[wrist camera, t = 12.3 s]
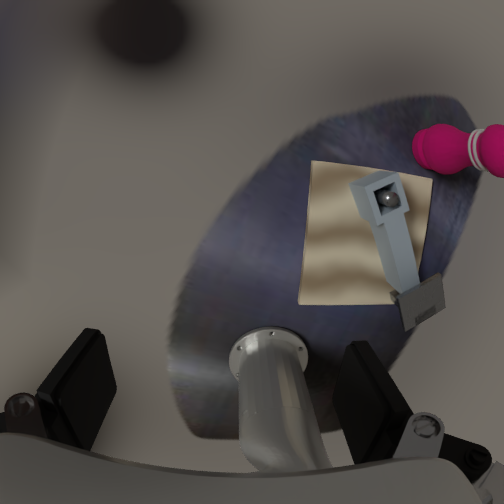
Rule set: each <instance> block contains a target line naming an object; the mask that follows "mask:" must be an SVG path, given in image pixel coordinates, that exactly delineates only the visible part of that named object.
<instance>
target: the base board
mask: <svg viewBox="0 0 504 504" xmlns="http://www.w3.org/2000/svg"><path fill="white" fill-rule="evenodd" d="M379 170H380V171H387V170H381V169H374V168H368V167H361V166H354V165H346V164H338V163H330V162H321V161H311V173H310V187H309V199H308V211H307V222H306V233H305V243H304V252H303V262H302V271H301V279H300V288H299V296H298V303H299V305H372V304H394V303H393V302H392V301H391V298H390V294H389V292H391V291H393V290H395V289H394V288H393V287H392V286H391V285H390V284H389V283H388V282H387V281H386V277H385V274H384V270H383V266H382V263H381V259H380V256H379V252H378V249H377V246H376V242H375V239H374V236H373V233H372V229H371V226H370V223H369V221H367V220H365V219H363V218H361V217H360V214H359V212H358V209H357V206H356V203H355V200H354V198H353V195H352V192H351V189H350V187H349V184H348V183H350V182H353V181H355V180H357V179H360V178H362V177H364V176H367V175H369V174H371V173H374V172H376V171H379ZM391 172H393V171H391ZM398 173H399V172H398ZM399 176H400V179H401V183H402V186H403V189H404V192H405V196H406V199H407V202H408V206H409V211H407V212H405V213H404V217H405V220H406V224H407V228H408V232H409V236H410V240H411V244H412V248H413V252H414V257H415V261H416V266H417V271H418V270H419V266H420V261H421V256H422V251H423V245H424V240H425V234H426V228H427V221H428V214H429V207H430V199H431V190H432V180H433V179H430V178H425V177H420V176H415V175H410V174H404V173H399Z"/></svg>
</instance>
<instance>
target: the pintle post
mask: <svg viewBox="0 0 504 504" xmlns="http://www.w3.org/2000/svg"><path fill="white" fill-rule="evenodd" d="M373 192H374V195H375V198H376V201H377V203H380V204H383V205H386V206H389V207H395V206H396V205H397V204H398V200H399V198H398V195H397V194H396V193H395V192H391V191H387V190H382V189H377V190H375V191H373Z"/></svg>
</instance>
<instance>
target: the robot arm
mask: <svg viewBox="0 0 504 504" xmlns="http://www.w3.org/2000/svg"><path fill="white" fill-rule="evenodd" d="M307 363H308V352H307V348H306V346H305V344H304V342H303V340H302V339H301V338H300V337H299V336H298V335H297V334H295V333H294V332H292V331H290V330H288V329H285V328H280V327H261V328H258V329H254V330H252V331H249V332H247V333H246V334H244V335H243V336H241V337H240V338H239V339H238V340H237V341H236V342H235V344H234V345H233V347H232V349H231V351H230V356H229V366H230V370H231V372H232V374H233V376H234V377H235V378H236V379H237V380H238V381H239V442H240V447H241V450H242V452H243V454H244V456H245V457H246V458H247V460H248V461H249V462H250V463H251V464H252V465H253V466H254V467H255V468H257V469H258V470H259V471H257V472H251V473H225V472H207V471H195V470H185V469H177V468H169V467H162V466H155V465H149V464H143V463H138V462H133V461H128V460H123V459H119V458H114V457H110V456H106V455H102V454H98V453H94V452H91V451H90V450H91V448H92V445H93V443H94V441H95V438H96V436H97V434H98V432H99V429H100V427H101V425H102V422H103V420H104V418H105V416H106V413H107V411H108V409H109V407H110V405H111V402H112V400H113V398H114V396H115V394H116V390H117V386H116V382H115V378H114V374H113V370H112V366H111V362H110V358H109V354H108V349H107V345H106V340H105V336H104V335H103V334H101V332H100V331H99V330H97V329H90V328H85V329H84V330H83V332H82V333H81V334H80V335H79V336H78V337H77V339H76V340H75V341H74V342H73V344H72V345H71V346H70V347H69V349H68V350H67V351H66V353H65V354H64V355H63V356H62V358H61V359H60V360H59V361H58V363H57V364H56V365H55V367H54V368H53V369H52V371H51V372H50V373H49V375H48V376H47V377H46V379H45V380H44V381H43V382H42V384H41V385H40V387H39V388H38V389H37V394H36V395H35V396H33V395H32V394H30V393H25V392H23V393H17V394H14V395H13V396H11V397H10V398H9V399H8V400H7V401H6V403H5V406H4V412H2V413H0V504H504V465H502V464H501V463H499V462H497V461H496V462H495V463H492V457H491V454H490V452H489V451H488V450H487V449H486V448H485V447H483V446H481V445H479V444H475V443H472V442H469V441H466V440H463V439H460V438H457V437H454V436H451V435H448V434H445V433H444V424H443V422H442V421H441V419H440V418H438V417H437V416H436V415H433V414H431V413H427V412H420V413H416V414H413V412H412V410H411V409H410V407H409V406H408V404H407V402H406V400H405V399H404V397H403V396H402V394H401V392H400V391H399V389H398V388H397V386H396V384H395V383H394V381H393V380H392V378H391V376H390V375H389V373H388V372H387V371H386V369H385V368H384V366H383V365H382V363H381V362H380V360H379V358H378V357H377V355H376V354H375V352H374V351H373V349H372V348H371V346H370V345H369V343H368V342H367V341H352V342H351V344H350V345H347V347H346V350H345V354H344V358H343V361H342V365H341V369H340V373H339V376H338V380H337V383H336V387H335V390H334V393H333V404H334V407H335V410H336V412H337V415H338V418H339V421H340V424H341V427H342V430H343V432H344V435H345V438H346V441H347V444H348V446H349V449H350V453H351V456H352V459H353V461H354V464H355V465H349V466H343V467H335V468H333V467H332V465H331V462H330V460H329V458H328V455H327V453H326V450H325V447H324V444H323V441H322V438H321V434H320V431H319V427H318V424H317V420H316V417H315V413H314V409H313V406H312V402H311V399H310V395H309V391H308V388H307V384H306V381H305V377H304V374H303V372H304V370H305V369H306V366H307Z"/></svg>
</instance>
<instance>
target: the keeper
mask: <svg viewBox="0 0 504 504" xmlns="http://www.w3.org/2000/svg"><path fill="white" fill-rule="evenodd" d="M389 294H390V298H391V301H392V302H393V303H394V304H395V305H396V306H397V307H398V308H399V313H400V318H401V322H402V327H403V329H404V331H407V330H409V329H411V328H413V327H414V326H416V325H418V324H419V323H421V322H423V321H424V320H426V319H428V318H430V317H431V316H433V315H434V314H436V313H438V312H439V311H441V310H442V309H444V308H445V300H444V291H443V284H442V277H441V274H439V273H436V274H435V275H433V276H431V277H430V278H428V279H426V280H425V281H423V282H421V283H419V284H418V285H416V286H414V287H412V288H410V289H409V290H407V291H405V292H403V293H401V294H400V293H399V292H398V291H397V290H396V289H395V290H393V291H391V292H389Z"/></svg>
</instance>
